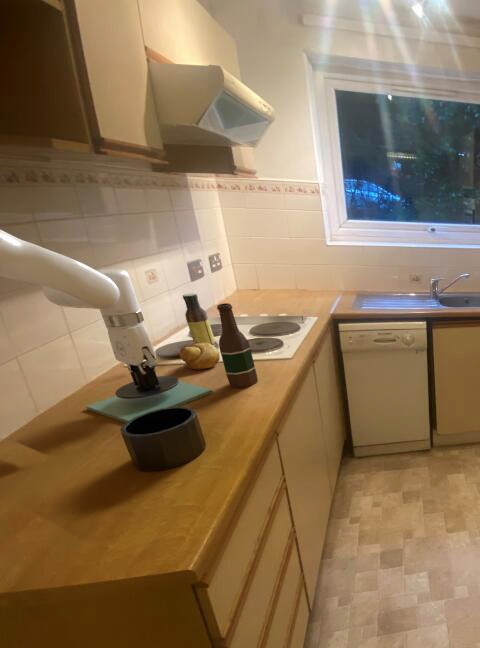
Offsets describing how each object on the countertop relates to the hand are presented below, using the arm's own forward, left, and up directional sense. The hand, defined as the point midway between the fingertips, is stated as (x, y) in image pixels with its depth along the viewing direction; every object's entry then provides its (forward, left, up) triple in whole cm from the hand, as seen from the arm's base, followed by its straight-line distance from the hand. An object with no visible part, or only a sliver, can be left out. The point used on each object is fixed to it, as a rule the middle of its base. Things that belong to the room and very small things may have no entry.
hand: (147, 384), depth 116 cm
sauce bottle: (+33, +28, -5) cm, 44 cm away
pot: (-14, -32, -5) cm, 35 cm away
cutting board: (0, 0, -5) cm, 5 cm away
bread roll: (+23, +13, -5) cm, 27 cm away
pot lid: (0, 0, -1) cm, 1 cm away
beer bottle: (+18, -12, -5) cm, 22 cm away
